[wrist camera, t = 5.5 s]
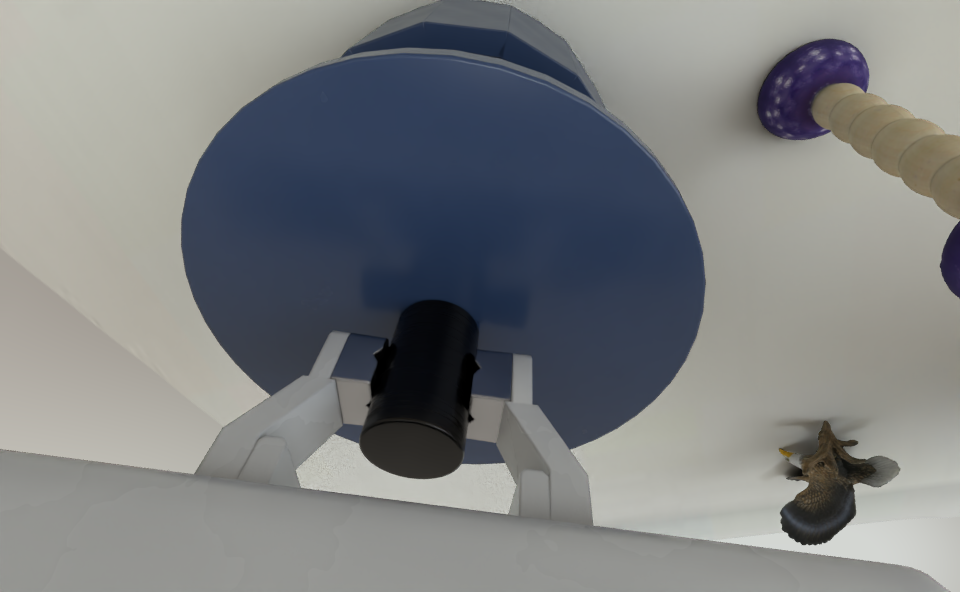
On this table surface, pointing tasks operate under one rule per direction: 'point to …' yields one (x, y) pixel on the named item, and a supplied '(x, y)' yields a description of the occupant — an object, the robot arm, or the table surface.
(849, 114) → the toy lamp
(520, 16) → the pot
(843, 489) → the eagle figurine
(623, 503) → the table surface
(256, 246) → the lid
